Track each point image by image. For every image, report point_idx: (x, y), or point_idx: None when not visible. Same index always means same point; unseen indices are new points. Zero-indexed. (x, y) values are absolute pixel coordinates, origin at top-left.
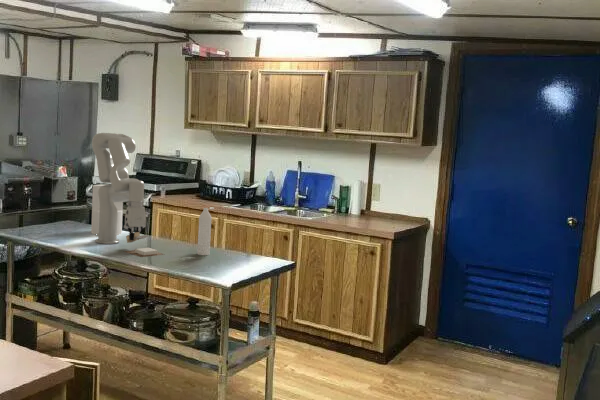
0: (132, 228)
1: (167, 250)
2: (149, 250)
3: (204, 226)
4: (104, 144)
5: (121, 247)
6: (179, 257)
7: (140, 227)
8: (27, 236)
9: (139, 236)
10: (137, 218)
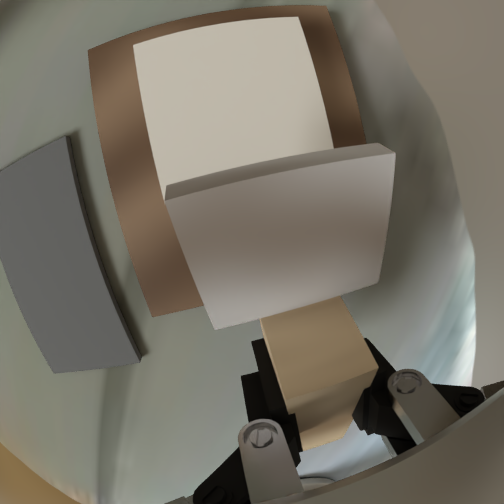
0: (440, 416)
1: (13, 299)
2: (218, 53)
3: None
4: None
5: None
6: (18, 56)
7: (258, 494)
8: None
9: (369, 152)
10: None
